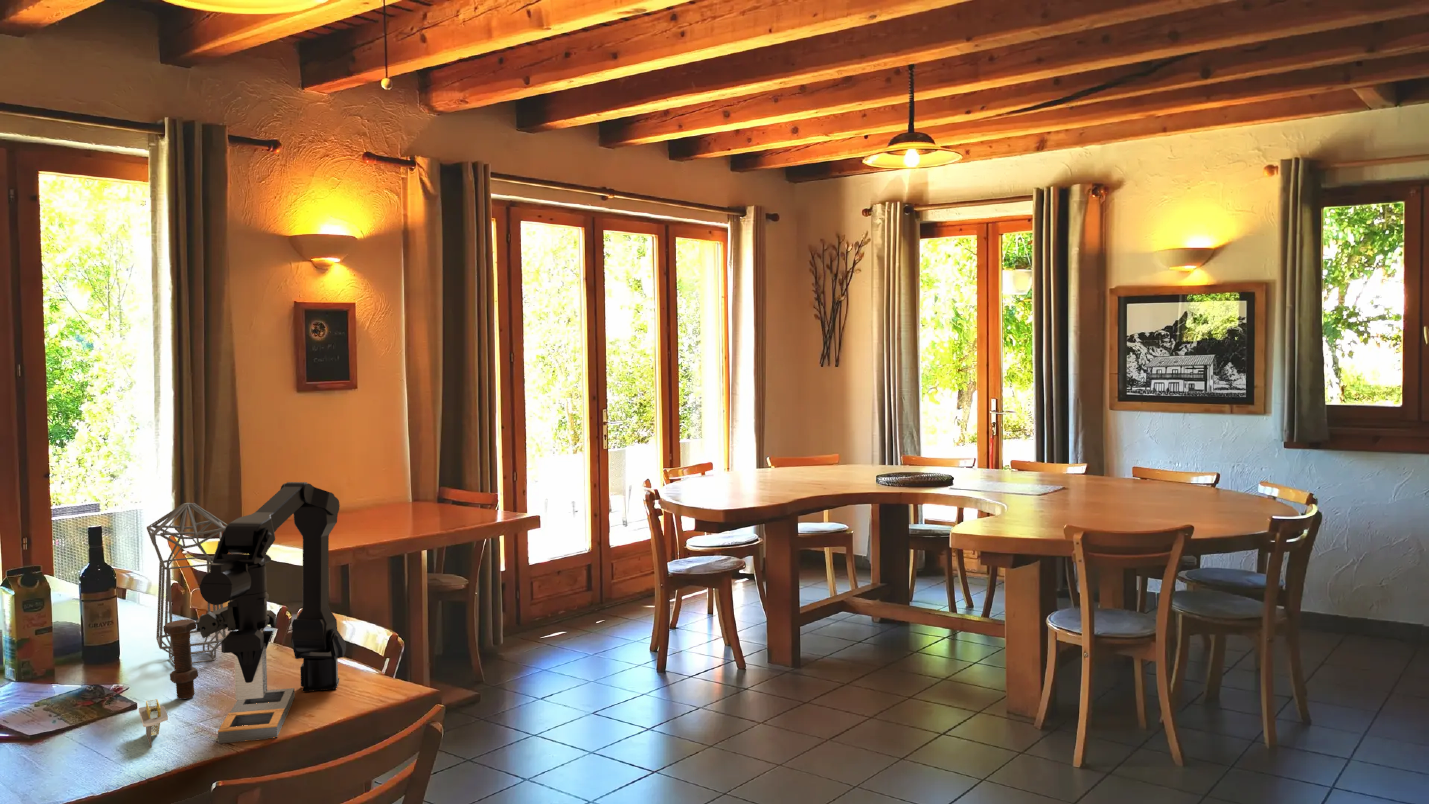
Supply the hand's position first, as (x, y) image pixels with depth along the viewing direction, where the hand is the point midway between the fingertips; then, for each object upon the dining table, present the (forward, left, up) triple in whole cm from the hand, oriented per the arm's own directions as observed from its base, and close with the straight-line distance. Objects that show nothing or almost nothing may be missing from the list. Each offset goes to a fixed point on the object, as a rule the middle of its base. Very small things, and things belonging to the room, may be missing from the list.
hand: (251, 678), depth 186 cm
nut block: (0, 0, -3) cm, 3 cm away
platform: (+16, 0, -10) cm, 19 cm away
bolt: (+16, -24, -10) cm, 30 cm away
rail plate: (0, -6, -10) cm, 12 cm away
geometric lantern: (+21, -53, -10) cm, 58 cm away
